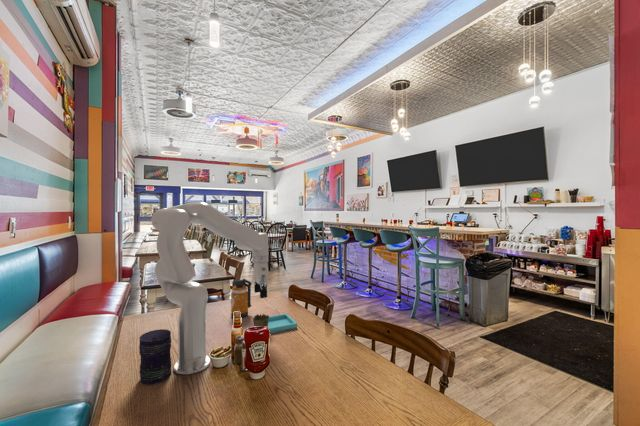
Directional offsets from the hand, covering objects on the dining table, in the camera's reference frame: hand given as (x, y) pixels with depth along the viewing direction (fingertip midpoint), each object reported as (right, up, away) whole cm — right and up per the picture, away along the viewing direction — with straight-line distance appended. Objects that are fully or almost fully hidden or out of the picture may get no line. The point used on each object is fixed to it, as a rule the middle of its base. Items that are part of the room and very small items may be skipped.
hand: (260, 294), depth 139 cm
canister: (-15, -18, +24) cm, 34 cm away
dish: (+7, -18, +9) cm, 21 cm away
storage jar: (-30, -19, -35) cm, 50 cm away
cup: (0, -19, 0) cm, 19 cm away
